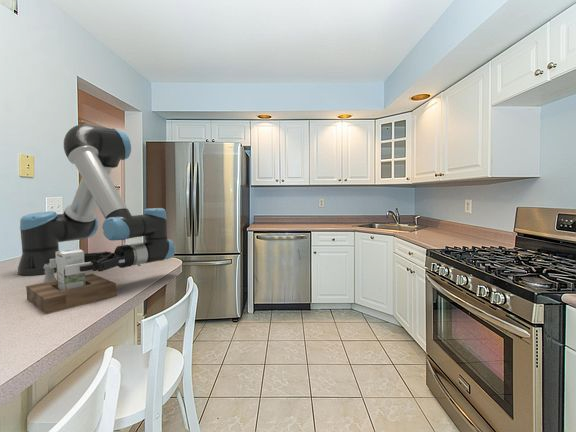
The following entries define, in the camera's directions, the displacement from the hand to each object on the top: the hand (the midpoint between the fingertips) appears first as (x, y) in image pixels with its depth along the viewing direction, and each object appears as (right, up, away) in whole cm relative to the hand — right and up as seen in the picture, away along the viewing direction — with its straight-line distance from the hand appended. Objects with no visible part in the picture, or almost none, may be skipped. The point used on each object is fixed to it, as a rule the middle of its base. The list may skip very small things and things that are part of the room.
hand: (57, 267), depth 94 cm
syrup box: (+2, -10, +3) cm, 11 cm away
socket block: (+2, -10, +3) cm, 11 cm away
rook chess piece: (-12, -9, +13) cm, 20 cm away
